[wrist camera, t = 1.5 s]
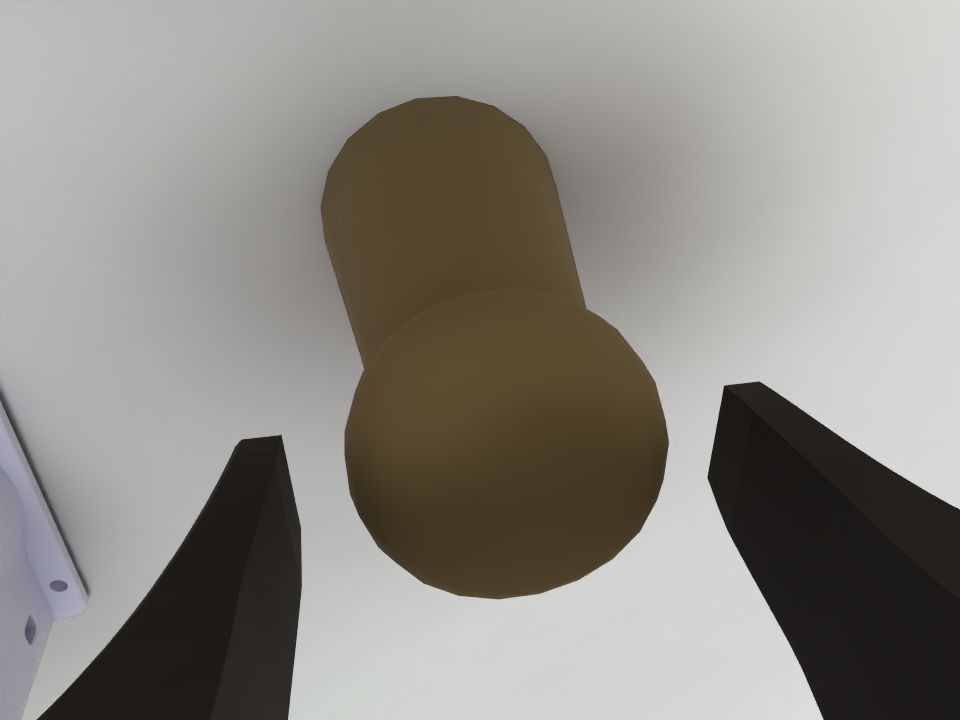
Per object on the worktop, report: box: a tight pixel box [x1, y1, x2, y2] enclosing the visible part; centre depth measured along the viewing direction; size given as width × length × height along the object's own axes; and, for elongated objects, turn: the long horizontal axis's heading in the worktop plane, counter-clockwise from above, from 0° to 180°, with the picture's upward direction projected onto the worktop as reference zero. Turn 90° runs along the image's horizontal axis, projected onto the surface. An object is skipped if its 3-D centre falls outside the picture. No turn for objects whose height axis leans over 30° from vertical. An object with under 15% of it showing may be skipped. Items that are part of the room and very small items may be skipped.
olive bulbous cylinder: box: [321, 96, 669, 599], centre depth 17 cm, size 6×6×11 cm
